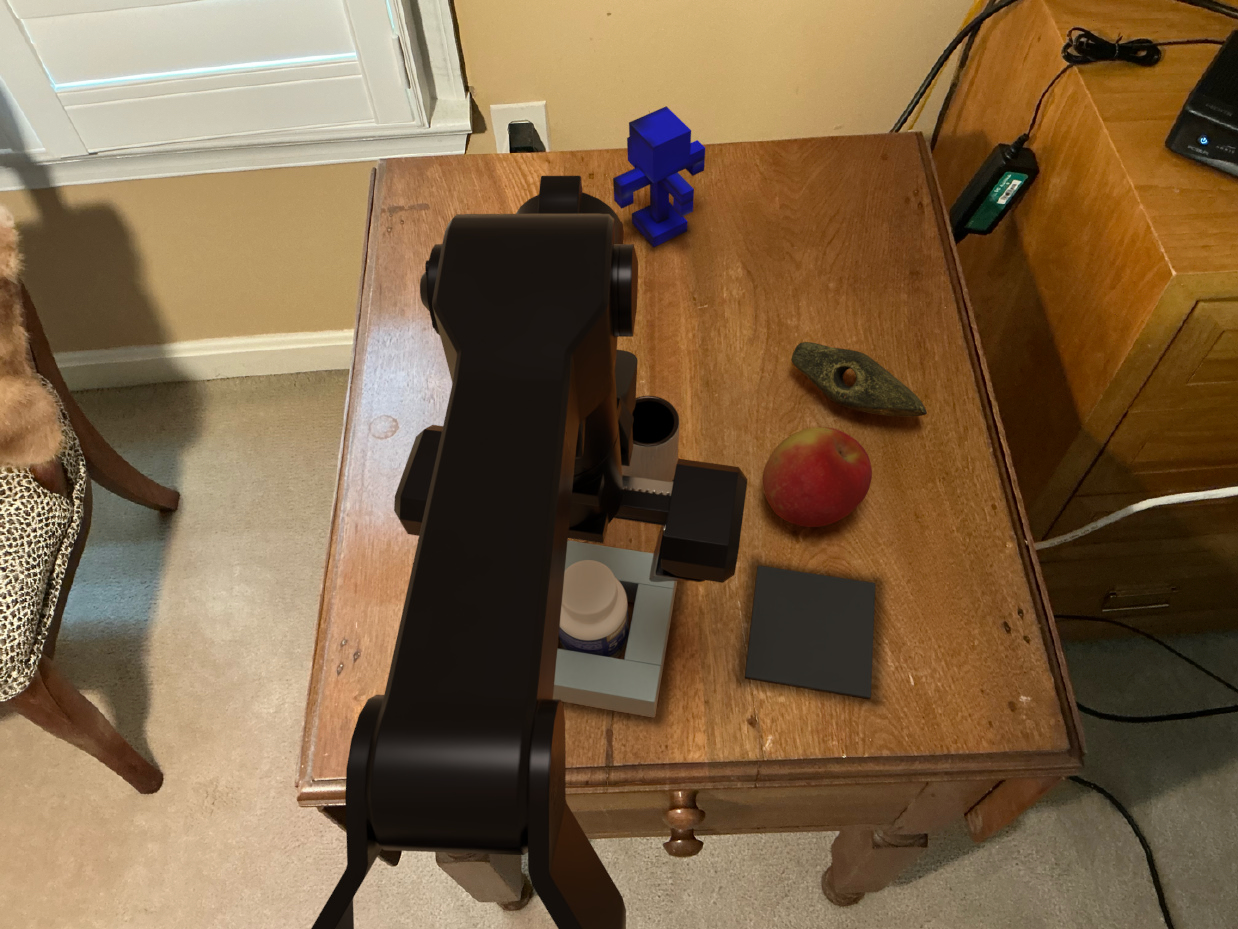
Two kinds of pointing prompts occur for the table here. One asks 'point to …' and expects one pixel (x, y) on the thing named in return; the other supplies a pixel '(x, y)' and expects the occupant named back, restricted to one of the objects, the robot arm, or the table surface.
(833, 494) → the apple
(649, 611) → the stand
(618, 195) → the figurine
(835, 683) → the mat
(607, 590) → the pill bottle
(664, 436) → the grey cylindrical tube
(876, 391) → the decorative stone
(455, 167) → the table surface
